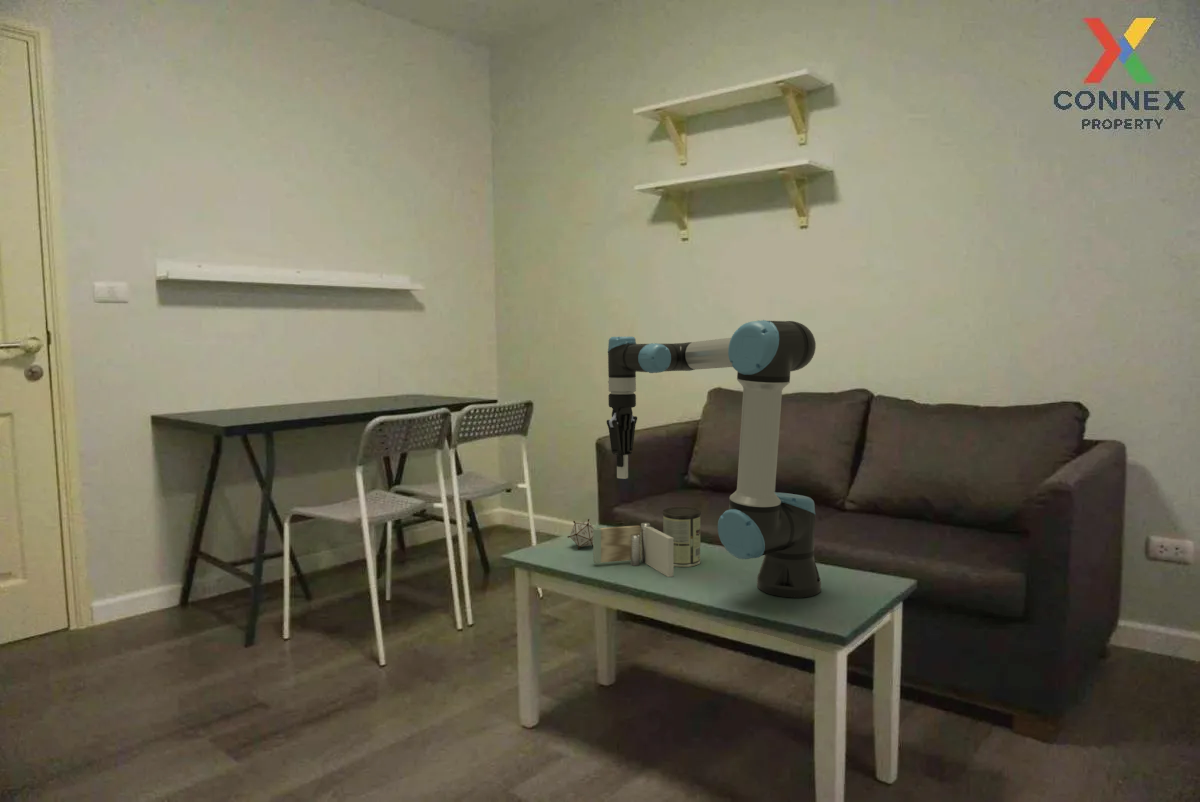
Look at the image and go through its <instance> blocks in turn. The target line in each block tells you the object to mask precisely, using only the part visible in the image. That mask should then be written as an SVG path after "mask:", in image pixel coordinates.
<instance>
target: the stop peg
mask: <svg viewBox="0 0 1200 802" xmlns="http://www.w3.org/2000/svg"><path fill="white" fill-rule="evenodd" d="M640 562H641V559H640V535H637V534H633V535H631V560H630V566H631V567H639V566H640V565H641V564H640Z"/></svg>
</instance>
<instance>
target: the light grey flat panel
mask: <svg viewBox="0 0 1200 802" xmlns="http://www.w3.org/2000/svg"><path fill="white" fill-rule="evenodd" d="M673 546H674V538H673V537H670V536H668V535H666V534H664V533H663V531H660V530H658V529H656V528H654V527H653V526H650V527H645V563H644V564H645V565H647V566H650V567H651V568H652V569H654V570H656V571H657V572H658V573H661V574H662V575H664V576H665V577H668V578H671V577H674V566H673Z"/></svg>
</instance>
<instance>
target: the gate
mask: <svg viewBox="0 0 1200 802" xmlns="http://www.w3.org/2000/svg"><path fill="white" fill-rule="evenodd" d="M633 534H637V535H640V560H641V525H626V526H625V525H623V526H611V527H610V526H608V527H594V528H593V546H592V547H593V549H592V550H593V556H592V557H593V559H592V560H593V563H595V564H601V563H609V562H612V563H613V562H624V561H625V562H626V561H631V535H633Z"/></svg>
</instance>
